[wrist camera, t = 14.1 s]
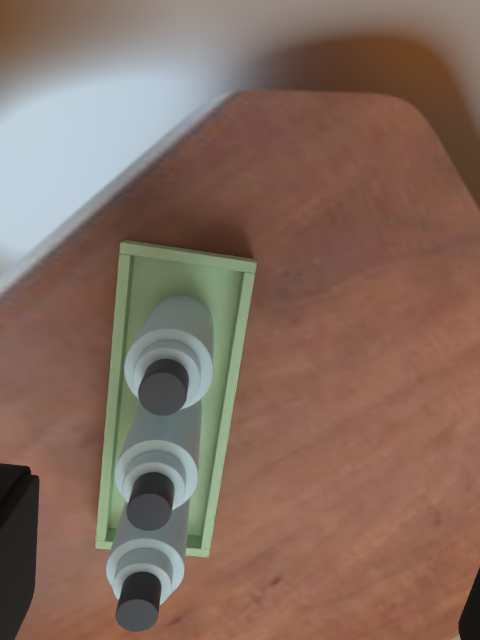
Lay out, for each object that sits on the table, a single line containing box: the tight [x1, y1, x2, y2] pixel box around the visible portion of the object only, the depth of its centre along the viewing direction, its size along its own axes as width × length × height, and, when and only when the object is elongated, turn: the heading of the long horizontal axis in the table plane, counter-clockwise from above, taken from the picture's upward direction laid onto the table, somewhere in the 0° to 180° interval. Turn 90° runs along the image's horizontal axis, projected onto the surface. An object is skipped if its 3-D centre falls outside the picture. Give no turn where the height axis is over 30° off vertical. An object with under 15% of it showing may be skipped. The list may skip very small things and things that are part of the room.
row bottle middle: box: [115, 400, 202, 531], centre depth 28 cm, size 5×5×12 cm
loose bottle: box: [124, 295, 214, 416], centre depth 27 cm, size 5×5×12 cm
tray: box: [95, 240, 257, 557], centre depth 34 cm, size 26×10×2 cm, turn 171°
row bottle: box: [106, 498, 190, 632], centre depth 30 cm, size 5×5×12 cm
